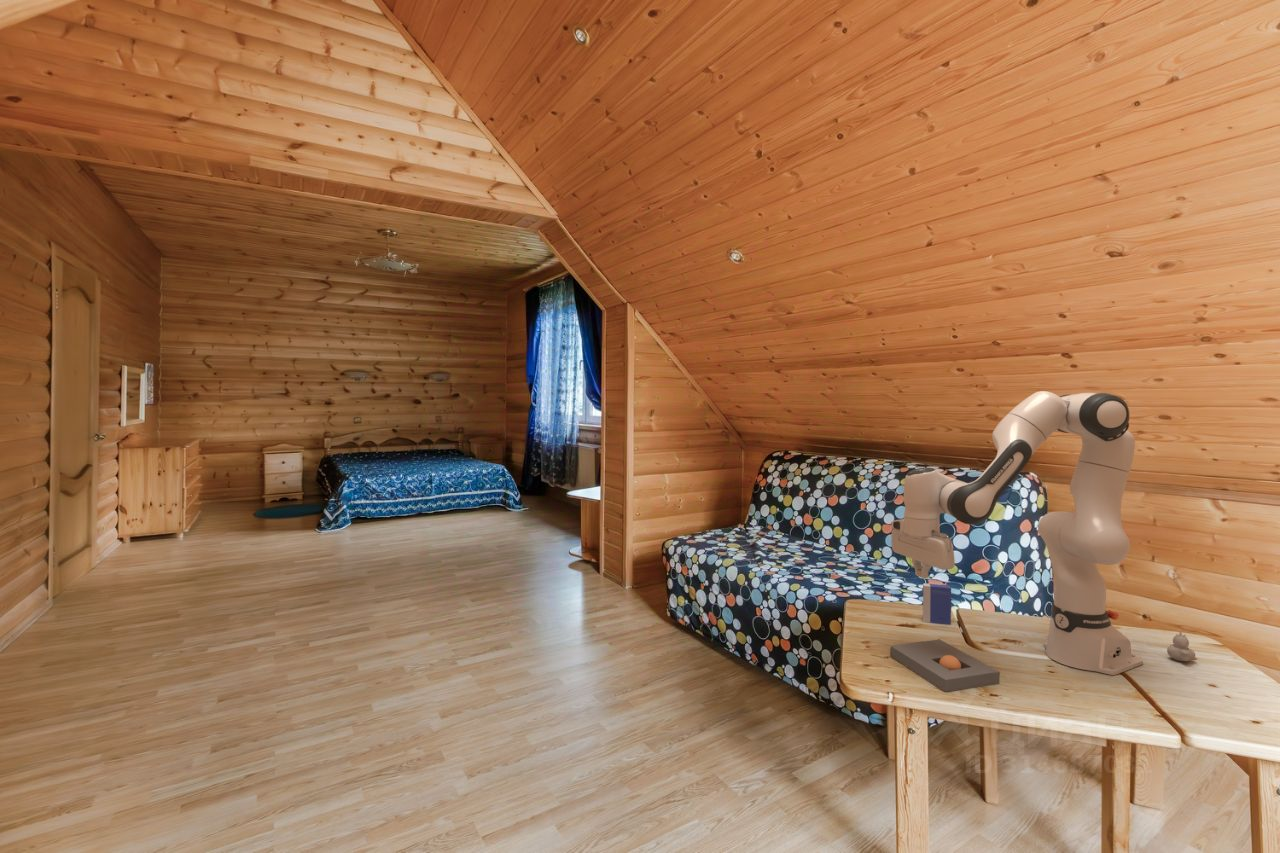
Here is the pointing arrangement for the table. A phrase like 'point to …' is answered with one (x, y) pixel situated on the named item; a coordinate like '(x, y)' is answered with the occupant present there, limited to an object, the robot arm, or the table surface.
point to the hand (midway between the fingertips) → (921, 576)
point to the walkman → (936, 603)
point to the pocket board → (926, 664)
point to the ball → (950, 662)
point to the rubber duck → (1180, 649)
